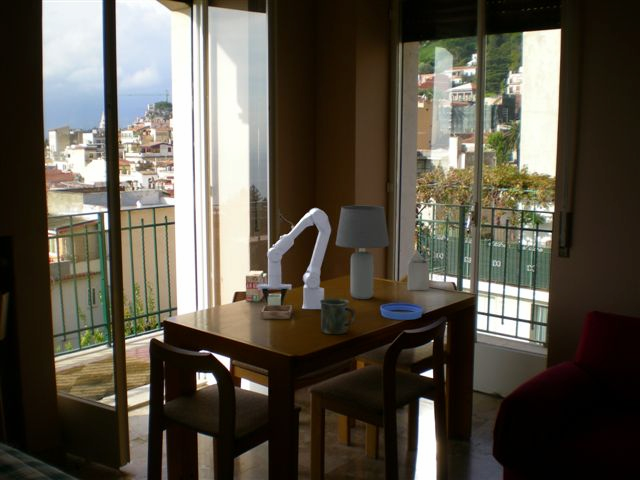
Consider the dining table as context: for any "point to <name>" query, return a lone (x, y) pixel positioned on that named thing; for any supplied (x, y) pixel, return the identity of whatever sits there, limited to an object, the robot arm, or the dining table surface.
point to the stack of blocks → (255, 285)
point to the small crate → (274, 299)
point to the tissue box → (418, 273)
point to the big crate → (276, 312)
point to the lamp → (362, 243)
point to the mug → (335, 315)
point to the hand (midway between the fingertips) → (274, 305)
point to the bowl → (401, 311)
